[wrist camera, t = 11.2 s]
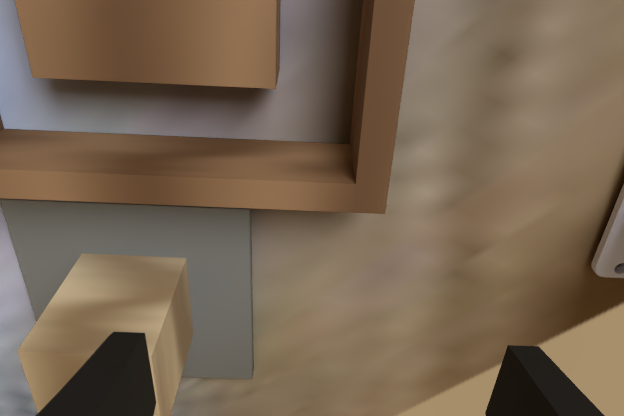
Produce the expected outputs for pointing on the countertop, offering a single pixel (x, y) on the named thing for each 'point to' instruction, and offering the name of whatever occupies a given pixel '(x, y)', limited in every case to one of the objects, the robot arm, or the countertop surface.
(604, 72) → the countertop surface
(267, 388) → the countertop surface
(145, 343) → the robot arm
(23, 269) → the mat
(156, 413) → the maple block
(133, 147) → the slot box
